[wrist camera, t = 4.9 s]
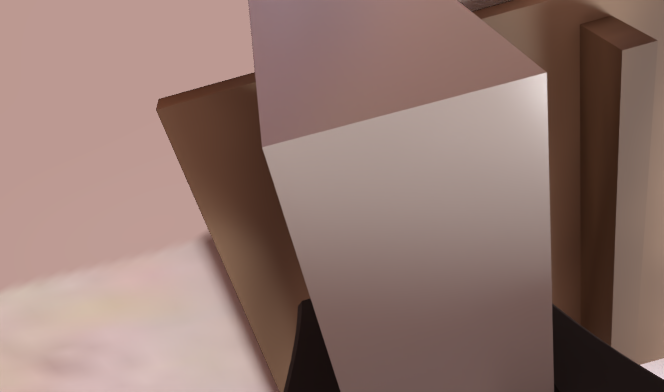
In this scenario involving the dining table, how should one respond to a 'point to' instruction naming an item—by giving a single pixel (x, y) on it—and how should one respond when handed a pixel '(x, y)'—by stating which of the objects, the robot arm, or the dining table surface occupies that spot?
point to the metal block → (412, 190)
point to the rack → (564, 175)
